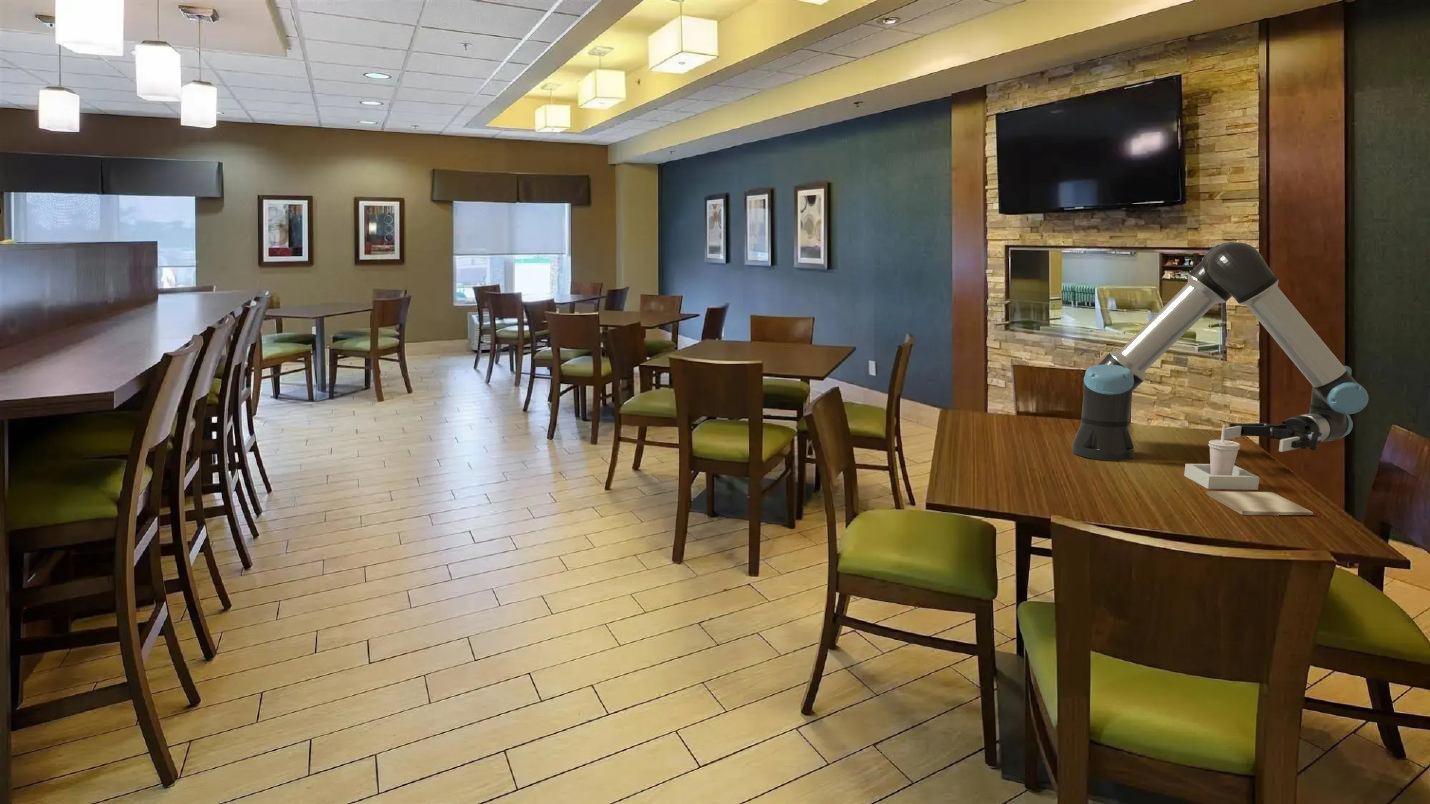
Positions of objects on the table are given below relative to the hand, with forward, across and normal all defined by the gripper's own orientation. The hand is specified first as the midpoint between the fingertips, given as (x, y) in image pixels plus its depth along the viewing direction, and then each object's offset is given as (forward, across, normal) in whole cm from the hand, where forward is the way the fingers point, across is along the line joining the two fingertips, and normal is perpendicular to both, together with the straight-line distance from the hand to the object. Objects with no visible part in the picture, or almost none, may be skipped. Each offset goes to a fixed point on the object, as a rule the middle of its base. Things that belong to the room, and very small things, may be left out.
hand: (1251, 439), depth 194 cm
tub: (+10, 0, -9) cm, 14 cm away
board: (+19, -14, -9) cm, 26 cm away
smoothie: (+10, 0, -10) cm, 14 cm away
